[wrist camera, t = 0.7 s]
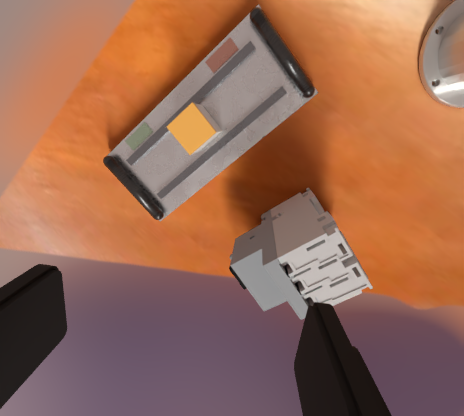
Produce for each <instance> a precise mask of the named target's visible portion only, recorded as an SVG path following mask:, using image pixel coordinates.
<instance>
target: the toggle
mask: <svg viewBox="0 0 464 416" xmlns="http://www.w3.org/2000/svg"><path fill="white" fill-rule="evenodd" d="M167 128H168V130H169V131H170V132H171V133H172V134H173V136H174V137H175V138H176V139H177V140H178V142H179V143H180V144H181V145H182V146H183V148H184V149H185V150H186V151H187V152H188V154H189V155H191V154H194V153H196V152H198V151H200V150H202V149H203V148H204V147H205V146H206V145H207V144H209V143H210V142H211V141H212V140H213V139H214V138H215V137H217V136H218V135H219V134H220V133H221V132H222V130H221V128H220V127H219V126H218V124H217V123H216V122H215V121H214V119H213V118H212V117H211V116H210V114H209V113H208V112H207V110H206V109H205V108H204V107H203V106H202V105H199V104H196V103H193V102H192V103H191V104H190V105H189V106H188V107H187V108H186V109H185V110H184V111H182V112H181V113H180V114H179V115H178V116H177V117H176V118H175V119H174V120H173V121H172V122H171V123H170V124H169V125H168V126H167Z"/></svg>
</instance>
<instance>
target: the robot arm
mask: <svg viewBox="0 0 464 416" xmlns="http://www.w3.org/2000/svg"><path fill="white" fill-rule="evenodd" d="M435 31H436V32H435ZM419 73H420V77H421V81H422V84H423V86H424V88H425V90H426V91H427V92H428V93H429V95H430V96H431V97H432V98H433V99H435V100H436V101H438V102H439V103H441V104H444V105H446V106H449V107H455V108H464V0H455V1H453V2H452V3H451V4H450V5H448V6H447V7H446V8H445V9H444V10H443V11H442V12H441V13H440V15H439V16H438V17H437V18H436V19H435V21H434V22H433V24H432V25H431V27H430V28H429V30H428V32H427V34H426V36H425V38H424V41H423V44H422V47H421V50H420V57H419ZM432 82H433V85H432ZM66 331H67V321H66V311H65V301H64V291H63V281H62V274H61V272H60V271H59V270H58V268H57V267H56V266H50V265H43V264H38V265H36V266H34V267H33V268H31V269H29V270H28V271H26V272H25V273H23V274H22V275H20V276H18V277H17V278H15V279H14V280H12V281H11V282H9V283H7V284H6V285H4V286H3V287H1V288H0V409H1V408H2V406H3V405H4V404H5V403H6V402H7V401H8V399H10V397H11V396H12V395H13V394H14V393H15V392H16V391H17V390H18V388H19V387H20V386H21V385H22V384H23V383H24V382H25V380H26V379H27V378H28V377H29V376H30V375H31V374H32V373H33V372H34V370H35V369H36V368H37V367H38V366H39V365H40V364H41V363H42V361H43V360H44V359H45V358H46V357H47V356H48V355H49V354H50V353H51V351H52V350H53V349H54V348H55V347H56V346H57V345H58V344H59V342H60V341H61V340H62V339H63V338H64V336H65V334H66ZM294 371H295V377H296V382H297V387H298V392H299V397H300V402H301V408H302V412H303V416H391V414H390V412H389V410H388V408H387V406H386V404H385V402H384V400H383V398H382V396H381V394H380V392H379V390H378V388H377V386H376V384H375V382H374V380H373V378H372V376H371V374H370V372H369V370H368V368H367V366H366V364H365V362H364V360H363V358H362V356H361V354H360V352H359V351H358V349H357V348H355V347H354V346H352V345H351V343H350V341H349V339H348V337H347V335H346V333H345V331H344V329H343V327H342V325H341V323H340V321H339V318H338V316H337V314H336V312H335V310H334V308H333V306H332V305H331V304H327V303H320V302H314V304H313V306H311V305H309V306H308V309H307V313H306V317H305V321H304V326H303V329H302V333H301V337H300V341H299V345H298V350H297V353H296V357H295V362H294Z"/></svg>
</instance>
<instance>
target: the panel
mask: <svg viewBox="0 0 464 416" xmlns="http://www.w3.org/2000/svg"><path fill="white" fill-rule="evenodd" d="M317 93H318V92H317V90H316V89H315V87H314V86H313V84H312V83H311V81H310V80H309V78H308V77H307V75H306V74H305V72H304V71H303V69H302V68H301V66H300V65H299V63H298V62H297V60H296V59H295V58H294V56H293V55H292V53H291V52H290V50H289V49H288V47H287V46H286V44H285V43H284V41H283V40H282V38H281V37H280V35H279V34H278V32H277V31H276V29H275V28H274V27H273V25H272V24H271V22H270V21H269V19H268V18H267V16H266V15H265V13H264V12H263V10H262V9H261V7H260V6H259V4H258V5H257V6H256V7H255V8H253V9H252V11H251V12H250V13H249V14H248V15H247V16H246V17H245V18H244V19H243V20H242V21H241V22H240V23H239V24H238V25H237V26H236V27H235V28H234V29H233V30H232V31H231V32H230V33H229V34H228V35H227V36H226V37H225V38H224V39H223V40H222V41H221V42H220V43H219V44H218V45H217V46H216V47H215V48H214V49H213V50H212V51H211V52H210V53H209V54H208V55H207V56H206V57H205V58H204V59H203V60H202V61H201V62H200V63H199V64H198V65H197V66H196V67H195V68H194V69H193V70H192V71H191V72H190V73H189V74H188V75H187V76H186V77H185V78H184V79H183V80H182V81H181V82H180V83H179V84H178V85H177V86H176V87H175V88H174V89H173V90H172V91H171V92H170V93H169V94H168V95H167V96H166V97H165V98H164V99H163V100H162V101H161V102H160V103H159V104H158V105H157V106H156V107H155V108H154V109H153V110H152V111H151V112H150V113H149V114H148V115H147V116H146V117H145V118H144V119H143V120H142V121H141V122H140V123H139V124H138V125H137V126H136V127H135V128H134V129H133V130H132V131H131V132H130V133H129V134H128V135H127V136H126V137H125V138H124V139H123V140H122V141H121V142H120V143H119V144H118V145H117V146H116V147H115V148H114V149H113V150H112V151H111V152H110V153H109V154H108V155H107V156H106V157H105V158H104V159H103V162H104V164H105V166H106V167H107V168H108V169H109V170H110V171H111V172H112V173H113V174H114V175H115V176H116V177H117V179H118V180H119V181H120V182H121V183H122V184H123V185H124V186H125V187H126V188H127V189H128V191H129V192H130V193H131V194H132V195H133V196H134V197H135V198H136V199H137V200H138V201H139V202H140V204H141V205H142V206H143V207H144V208H145V209H146V210H147V211H148V212H149V213H150V214H151V216H152V217H153V218H154V219H156V220H159V221H161V220H163V219H164V218H165V217H166V216H168V215H169V214H170V213H171V212H172V211H174V210H175V209H176V208H177V207H179V206H180V205H181V204H182V203H184V202H185V201H186V200H187V199H188V198H190V197H191V196H192V195H193V194H195V193H196V192H197V191H198V190H199V189H201V188H202V187H203V186H204V185H206V184H207V183H208V182H209V181H211V180H212V179H213V178H214V177H215V176H217V175H218V174H219V173H220V172H222V171H223V170H224V169H225V168H227V167H228V166H229V165H230V164H231V163H233V162H234V161H235V160H236V159H238V158H239V157H240V156H241V155H242V154H244V153H245V152H246V151H247V150H249V149H250V148H251V147H252V146H254V145H255V144H256V143H257V142H258V141H260V140H261V139H262V138H263V137H265V136H266V135H267V134H268V133H270V132H271V131H272V130H273V129H274V128H276V127H277V126H278V125H279V124H281V123H282V122H283V121H284V120H286V119H287V118H288V117H289V116H290V115H292V114H293V113H294V112H295V111H297V110H298V109H299V108H300V107H301V106H303V105H304V104H305V103H306V102H308V101H309V100H310V99H311V98H313V97H314V96H315V95H316V94H317ZM192 102H193V103H196V104H199V105H202V106H203V107H204V108H205V109H206V110H207V112H208V113H209V114H210V116H211V117H212V118H213V119H214V121H215V122H216V123H217V124H218V126H219V127H220V128H221V130H222V132H221V133H220V134H219V135H218V136H217V137H215V138H214V139H213V140H212V141H211V142H210V143H209V144H207V145H206V146H205V147H204V148H203V149H202V150H200V151H198V152H196V153H194V154H191V155H189V154H188V152H187V151H186V150H185V149H184V148H183V146H182V145H181V144H180V143H179V142H178V140H177V139H176V138H175V137H174V136H173V134H172V133H171V132H170V131H169V130H168V128H167V126H168V125H169V124H170V123H171V122H172V121H173V120H174V119H175V118H176V117H177V116H178V115H179V114H180V113H181V112H182V111H184V110H185V109H186V108H187V107H188V106H189V105H190V104H191V103H192Z"/></svg>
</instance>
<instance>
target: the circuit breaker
mask: <svg viewBox="0 0 464 416" xmlns="http://www.w3.org/2000/svg"><path fill="white" fill-rule="evenodd" d="M306 190H307V191H306V192H305V193H303V194H301V192H300V193H298V194H296V195H294V196H293V197H291V198H289V199H288V200H286V201H284V202H282V203H281V204H279V205H277V206H276V207H274V208H272V209H270V210H269V211H267V212H265V213H264V214H262V215H261V220H262V221H261V224H260V225H258V226H257V227H255V228H253V229H251V230H250V231H248V232H246V233H244V234H243V235H241V236H239V237H238V238H236V239H235V244H234V249H233V254H231V255H230V259H231V264H230V267H229V269H230V271H231V273H232V274H233V275H234V276H235V278H236V279H237V280H238V281H239V283H240V285H241V286H242V287H243V289H246V288H247V289H248V290H249V292H250V293H251V294H252V296H253V297H254V298H255V300H256V301H257V303H258V304H259V305H260V307H261V308H262V309H263V311H266V310H268V309H270V308H272V307H275V306H277V305H279V304H281V303H283V302H286V301H288V302H289V304H290V305H291V307H292V308H293V309H294V311H295V312H296V314H297V315H298V317H299V318H300V319H304V318H305V317H306V313H307V309H308V306H309V305H311V306H313V304H314V302H320V303H327V304H331V305H332V306H333V305H336V304H338V303H340V302H343V301H345V300H347V299H349V298H352V297H354V296H356V295H359V294H361V293H362V291H361V290H362V289H364V288H366V287H369V288H370V289H372V288H373V287H372V285H371V284H370V282H369V280H368V276H367V275H366V273H365V272H364V270H363V269H362V267H361V265H360V263H359V261H358V259H357V258H356V256H355V254H354V253H353V251H352V249H351V247H350V246H349V244H348V242H347V241H346V239H345V237H344V236H343V234H342V232H341V231H339V229H338V227H337V224H336V222H335V221H334V219H333V217H332V216H331V215H330V214H329V212H328V211H327V212H325V211H324V210H323V208H322V206H321V205H320V203H319V201H318V200H317V198H316V196H315V195H314V194H313V192H312V191H311V190H310V189H309V187H308V188H307V189H306Z"/></svg>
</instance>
